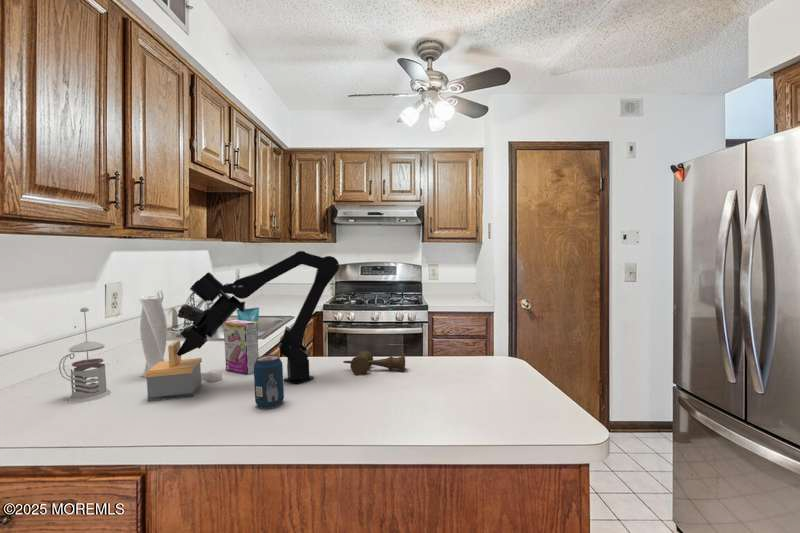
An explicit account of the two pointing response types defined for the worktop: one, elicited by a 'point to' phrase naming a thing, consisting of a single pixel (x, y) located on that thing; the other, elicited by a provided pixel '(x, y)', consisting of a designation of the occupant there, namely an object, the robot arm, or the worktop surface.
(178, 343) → the lid
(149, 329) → the skyscraper
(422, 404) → the worktop surface
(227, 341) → the candy bar box
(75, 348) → the french press
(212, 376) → the ball with square handle
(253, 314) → the tube
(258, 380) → the soda can
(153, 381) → the housing
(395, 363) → the kendama
